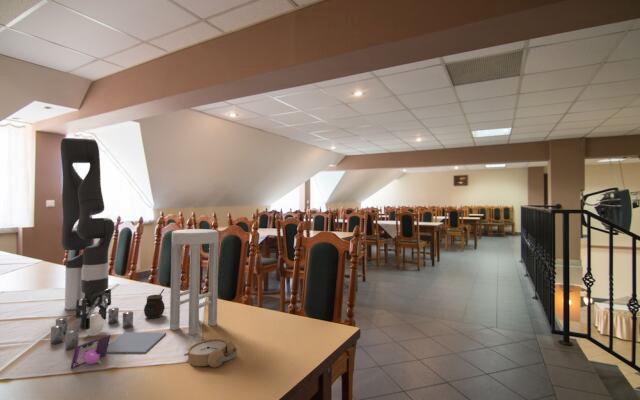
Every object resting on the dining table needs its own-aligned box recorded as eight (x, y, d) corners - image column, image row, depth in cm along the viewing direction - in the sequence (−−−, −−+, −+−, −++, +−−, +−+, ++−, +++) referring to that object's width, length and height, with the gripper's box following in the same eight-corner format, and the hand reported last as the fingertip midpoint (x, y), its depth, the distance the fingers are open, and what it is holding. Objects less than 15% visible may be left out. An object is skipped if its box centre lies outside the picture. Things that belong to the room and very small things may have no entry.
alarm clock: (205, 337, 102) (244, 337, 97) (207, 353, 102) (246, 353, 96) (178, 352, 92) (219, 353, 86) (180, 370, 92) (222, 372, 86)
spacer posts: (81, 320, 122) (82, 307, 122) (140, 320, 122) (140, 307, 122) (25, 350, 97) (25, 333, 97) (98, 350, 98) (98, 333, 98)
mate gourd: (139, 318, 125) (139, 292, 125) (155, 312, 132) (155, 287, 132) (153, 321, 122) (153, 294, 122) (168, 314, 130) (169, 289, 130)
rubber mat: (124, 334, 110) (124, 332, 110) (165, 334, 111) (166, 332, 111) (97, 353, 96) (97, 351, 96) (145, 353, 97) (145, 351, 97)
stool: (225, 323, 122) (226, 230, 122) (193, 338, 108) (195, 233, 108) (194, 316, 128) (196, 228, 128) (160, 330, 114) (162, 231, 114)
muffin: (96, 338, 107) (97, 316, 107) (78, 337, 107) (79, 316, 107) (109, 330, 113) (110, 310, 113) (92, 330, 113) (92, 310, 113)
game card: (108, 333, 95) (74, 345, 87) (118, 342, 93) (84, 355, 85) (103, 353, 96) (69, 366, 88) (113, 362, 94) (79, 377, 86)
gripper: (97, 272, 117) (96, 317, 117) (68, 281, 103) (67, 332, 102) (118, 272, 117) (118, 317, 117) (92, 281, 103) (91, 332, 103)
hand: (94, 324), depth 110 cm, fingers open, 8 cm apart
